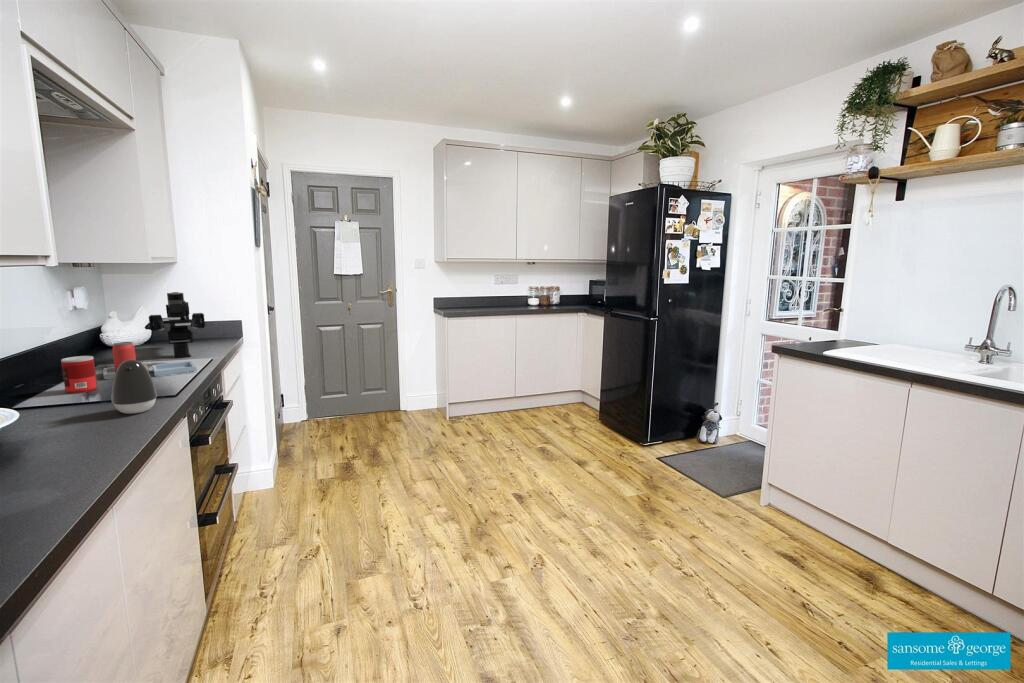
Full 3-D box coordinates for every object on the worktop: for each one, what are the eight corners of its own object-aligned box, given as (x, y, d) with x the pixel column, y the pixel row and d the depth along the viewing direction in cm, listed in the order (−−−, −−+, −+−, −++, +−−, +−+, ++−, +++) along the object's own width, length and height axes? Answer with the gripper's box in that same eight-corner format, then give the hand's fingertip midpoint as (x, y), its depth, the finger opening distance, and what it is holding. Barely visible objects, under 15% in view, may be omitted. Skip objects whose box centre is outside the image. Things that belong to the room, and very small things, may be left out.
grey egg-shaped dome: (107, 418, 130) (100, 364, 128) (120, 408, 140) (114, 357, 137) (152, 414, 134) (146, 362, 132) (162, 404, 144) (157, 355, 141)
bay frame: (104, 373, 181) (103, 368, 181) (147, 368, 189) (146, 364, 189) (104, 380, 171) (103, 374, 171) (149, 375, 179) (148, 369, 179)
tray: (152, 370, 186) (152, 365, 186) (192, 366, 195) (191, 361, 194) (155, 377, 177) (154, 371, 176) (196, 372, 185) (196, 366, 184)
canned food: (103, 387, 161) (99, 356, 159) (80, 394, 153) (75, 360, 151) (83, 387, 162) (78, 355, 160) (58, 393, 154) (54, 360, 152)
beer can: (113, 377, 176) (109, 345, 174) (118, 373, 182) (114, 342, 180) (135, 375, 179) (131, 343, 177) (139, 371, 185) (135, 341, 183)
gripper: (148, 300, 196) (146, 307, 183) (201, 298, 206) (203, 305, 194) (151, 326, 199) (149, 335, 186) (204, 323, 209) (206, 331, 197)
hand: (177, 326), depth 191 cm, fingers open, 9 cm apart
